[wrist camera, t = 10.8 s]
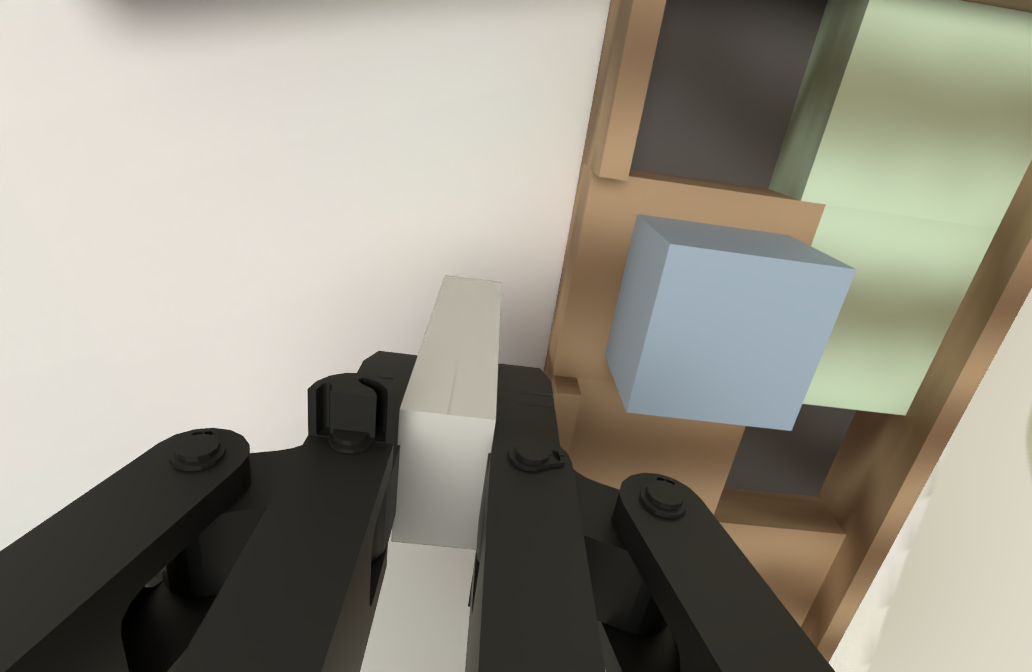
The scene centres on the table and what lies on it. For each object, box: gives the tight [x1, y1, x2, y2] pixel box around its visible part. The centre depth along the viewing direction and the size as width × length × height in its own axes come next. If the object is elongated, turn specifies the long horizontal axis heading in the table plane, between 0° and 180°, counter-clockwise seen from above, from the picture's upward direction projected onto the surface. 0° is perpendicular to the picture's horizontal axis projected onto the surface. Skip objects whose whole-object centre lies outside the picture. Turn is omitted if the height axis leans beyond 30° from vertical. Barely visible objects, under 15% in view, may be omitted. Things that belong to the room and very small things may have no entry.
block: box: [605, 214, 857, 431], centre depth 20 cm, size 6×6×4 cm
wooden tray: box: [544, 0, 1032, 663], centre depth 25 cm, size 33×17×4 cm, turn 172°
